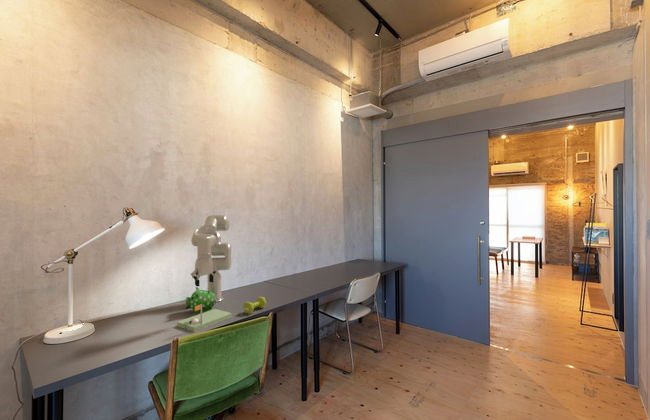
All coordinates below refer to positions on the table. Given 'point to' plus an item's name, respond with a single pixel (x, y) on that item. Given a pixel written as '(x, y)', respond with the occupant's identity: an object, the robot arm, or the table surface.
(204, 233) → the robot arm
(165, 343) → the table surface
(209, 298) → the piggy bank
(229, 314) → the green
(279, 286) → the table surface
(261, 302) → the dumbbell
